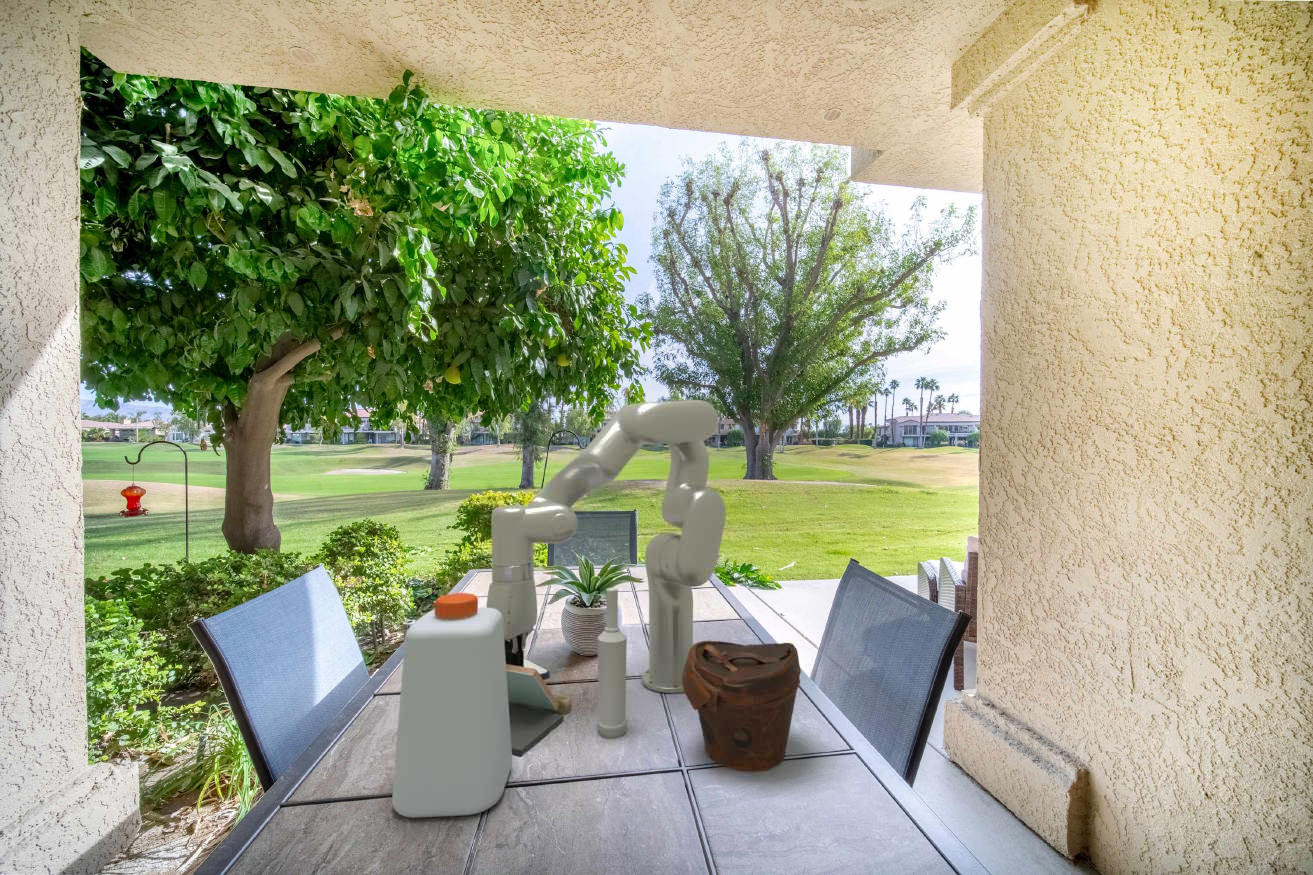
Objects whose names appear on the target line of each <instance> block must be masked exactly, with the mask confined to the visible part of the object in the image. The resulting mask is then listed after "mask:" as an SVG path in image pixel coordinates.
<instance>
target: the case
mask: <svg viewBox="0 0 1313 875" xmlns="http://www.w3.org/2000/svg"><path fill="white" fill-rule="evenodd" d="M799 658H800V657H799V653H798V650H797V647H796V646H795V644H793V643H791V642H782V643H762V644H761V643H760V644H758V643H757V644H755V643H754V644H750V643H749V644H746V645H745V644H738V643H735V642H729V641H728V642H727V641H720V640H704V641H703V640H702V641H698V642H695V643H693V646H692V647H691V649H690V652H689V654H688V658H687V661H686V664H685V667H684V670H683V676H682V684H683V688H684V691H685V692H684V694H685V696H686V697H687V700H688V702H689V703H690V705H691V707H692V708H693V710H695V711H696V710H697V713H698V714H697V715H698V718H699V723H700V728H701V733H702V736H703V742H704V750H705V752H706V755H707V756H708V757H709V758H710V759H711V761H713V762H715V763H716V764H719V765H721V766H723V767H726V768H728V769H731V770H736V771H741V772H761V771H769V770H771V769H774V768H776V767H777V766H779V765H780V764H782V763H783V761H784V759H785V756H786V753H787V752H786V751H787V747H788V740H789V735H790V731H791V730H790V729H791V726H792V718H793V714H794V708H795V707H794V706H795V703H796V697H797V691H798V689H799V686H800V683H801V680H800V678H801V677H800V676H801V673H802V671H801V670H802V669H801V664H800V659H799Z"/></svg>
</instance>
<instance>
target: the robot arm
mask: <svg viewBox="0 0 1313 875" xmlns="http://www.w3.org/2000/svg"><path fill="white" fill-rule="evenodd" d="M717 412H718V411H716V409H715V408H714V406H713V405H712V404H710V403H709V402H707V401H706V400H702V399H693V400H677V401H676V400H675V401H646V402H639V403H632V404H628V405H624V406H623V407H621V408H620V409H619V410H618V411H617V412H616V413H614V415H613V417H611V419H609V420H608V422H607V423H606V424H605V425H604V427H603V428H602V429H601V430H600V431H599V433H597V435H596V436H595V437H594V438H593V440H591V441H590V443H589V444H588V445H587V446H586V447H585V449H584V450H583V451H582V452H581V453H580V454H578V456H576V457H575V458H573V459H572V460H571V461H570V462H569V463H568V464H567V465H566V466H564V467H563V468H561V470H559V471H558V472H557V473H556V474H555V475H554V476H553V477H551V479H549V480H548V481H547V483H545V484H544V486H543V487H542V488H541V489H540V490H539V491H538V493H537V494H536V495H534V497H533V498H532V499H531V501H530V502H529V503H528V505H523V504H510V505H507V504H506V505H501V506H497V507H495V508H494V509H493V511H492V513H491V517H490V518H491V523H490V524H491V583H489V587H488V592H487V598H486V607H485V608H494V609H497V610H498V611H500V612H501V614H502V617H503V630H504V645H505V660H506V664H509V665H515V666H520V667H524V658H525V654H524V651H525V648H526V646H527V638H528V636H529V635H530V634H531V633H532V632H533V631H534V627H535V626H536V625H537V620H538V600H537V589H536V580H535V575H534V572H535V568H534V565H535V564H534V544H561V543H565V542H567V541H569V540H570V539H571V538H572V537H573V536H574V535H575V534H576V532H577V529H578V525H579V522H578V516H577V514H576V513H575V511H574V510H573V509H571V508H572V507H573V506H574V505H575V504H576V503H577V502H578V501H580V499H582V498H584V496H586V495H587V494H590V493H591V492H593V491H596V490H599V489H600V488H603V487H605V486H607V485H608V484H610V483H612V482H613V481H614V480H615V479H617V477H618V476H619V475H620V474H621V472H622V471H623V470H624V468H625V467H626V466H627V465H628V463H629V462H630V461H631V460H632V459H633V457H634V456H635V455H636V454H637V452H638V451H639V450H640V449H641V448H642V447H643V446H644V445H667V446H668V450H669V452H670V453H669V454H670V467H669V473H668V476H667V480H666V486H665V491H664V494H663V499H662V503H661V516H662V518H663V521H665V523H667V524H668V525H670V526H672V527H674V528H678V529H681V534H678V533H674V532H673V533H672V532H663V533H659V534H657V535H655V536H654V537H652V539H651V540H649V542H648V544H647V546H646V548H645V551H644V552H645V553H644V564H645V571H646V577H647V584H648V666H649V667H648V669H647V670H645V671H644V672H643V673H642V675H641V682H642V684H643V686H644V687H645V688H647V689H649V690H651V691H655V692H659V693H665V694H678V693H685V691H684V688H683V684H682V676H683V670H684V667H685V664H686V661H687V658H688V654H689V652H690V649H691V647H692V646H693V645H694V595H693V593H694V592H693V588H694V587H695V588H697V587H701V586H702V585H705V584H706V583H707V582H708V581H710V578H712V576H713V574H714V572H715V569H716V567H717V562H718V559H719V558H718V557H719V555H720V548H721V545H722V544H721V543H722V538H723V536H724V535H723V534H724V529H725V525H726V517H727V512H726V509H727V508H726V506H725V504H726V503H725V500H724V499H723V497H722V496H721V493H719V492H718V491H717V490H716V489H714V488H711V487H708V486H707V482H708V477H709V472H710V457H709V452H708V448H707V446H706V444H705V442H704V441H705V440H707V439H709V438H712V436H713V435H714V434H715V432H716V431H717V429H718V426H719V417H718V413H717Z"/></svg>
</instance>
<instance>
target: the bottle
mask: <svg viewBox="0 0 1313 875" xmlns="http://www.w3.org/2000/svg"><path fill="white" fill-rule="evenodd" d="M605 589H606V592H605V594H606V595H605V596H606V598H605V600H606V625H605V627H604V630H603V631H602V633H600V634H599V635H598V636H597V674H598V675H597V677H598V678H597V679H598V721H597V730H598V732H599V733H598V734H599V735H600V736H601V737H604V738H608V739H609V738H610V739H614V738H619V737H622V736H623V735H625V733H626V731H627V727H628V720H627V718H626V705H627V704H626V703H627V702H626V698H627V696H626V694H627V689H626V688H627V647H628V646H627V645H628V644H627V642H628V637H627V635H626V634H625V633H624V632H622V631H621V628H620V626H619V624H618V622H619V620H618V618H619V617H618V614H619V613H618V612H619V611H618V608H619V607H618V605H619V604H618V600H619V597H618V596H619V589H618V588H617V587H609V588H605Z"/></svg>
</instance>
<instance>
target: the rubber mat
mask: <svg viewBox="0 0 1313 875" xmlns="http://www.w3.org/2000/svg"><path fill="white" fill-rule="evenodd" d="M509 719H510V733H511V748H512V756H513V755H514V756H518V757H522V756H523V755H524V754H526V753H527V752H528V751H529V750H531V748H533V747H534V746H535V745H537V744H538V743H539V742H540V741H541V740H543V739H544V738H545V737H547V735H548V734H550V733H551V732H553V731H554V730H555V729H556V728H557V727H559V725H561V724H562V723H563V722H564V714H563V715H562V714H560V715H558V714H553V713H548V712H544V711H539V710H534V709H529V708H524V707H519V706H514V705H509Z"/></svg>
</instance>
